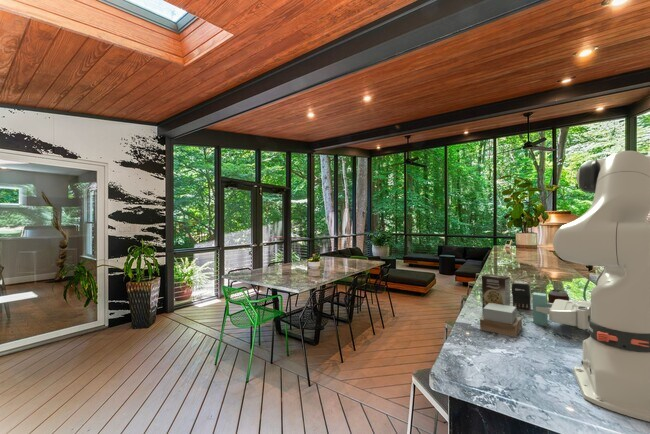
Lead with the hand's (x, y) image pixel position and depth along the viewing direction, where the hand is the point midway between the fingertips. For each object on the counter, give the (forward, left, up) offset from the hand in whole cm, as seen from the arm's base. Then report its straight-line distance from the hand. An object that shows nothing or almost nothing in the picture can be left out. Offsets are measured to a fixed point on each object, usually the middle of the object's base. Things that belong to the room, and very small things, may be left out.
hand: (537, 306), depth 114 cm
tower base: (-15, +9, -7) cm, 19 cm away
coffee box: (+1, +14, -6) cm, 16 cm away
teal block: (0, -1, -6) cm, 6 cm away
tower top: (-15, +9, -3) cm, 18 cm away
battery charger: (+17, +8, -6) cm, 20 cm away
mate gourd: (+25, -4, -6) cm, 26 cm away
